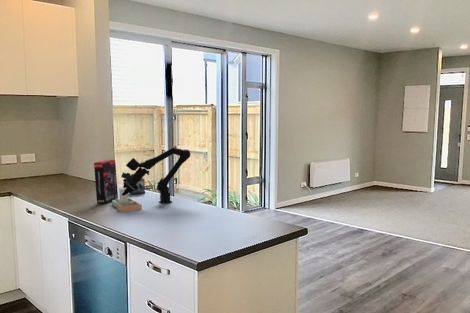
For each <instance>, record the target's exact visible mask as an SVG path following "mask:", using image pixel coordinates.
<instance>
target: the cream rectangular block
mask: <svg viewBox="0 0 470 313" xmlns="http://www.w3.org/2000/svg"><path fill="white" fill-rule="evenodd" d="M125 189H126V187H124V188H123V187H119V199H120V203H123V202H128V198H129V193H128V194H126V195H124V196H123V195H122V194H123V192H124V191H125Z"/></svg>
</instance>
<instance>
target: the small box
mask: <svg viewBox="0 0 470 313" xmlns="http://www.w3.org/2000/svg"><path fill="white" fill-rule="evenodd" d="M145 181H146V180H145V179H144V177H143V178H142V179H141V181H139V182H138V183H137V184H136V185H137V186H138V190H137V191H136V190H135V189H134V190H135V191H133V192H130V193H129V195H140V194H141V195H143V194H146V186H145V185H146V184H145V183H146V182H145Z"/></svg>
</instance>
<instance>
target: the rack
mask: <svg viewBox="0 0 470 313" xmlns="http://www.w3.org/2000/svg"><path fill="white" fill-rule="evenodd" d="M111 204H112V206H114V208H116V209H118V210H119V211H120V212H121V213H126V212H131V211H132V212H133V211H139V210H143V205H142V204H141V203H140V202H139V201H137V200H135V199H133V198H131V197H128V202H123V203H120V198H117V199H115V200H112V201H111Z"/></svg>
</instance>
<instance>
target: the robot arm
mask: <svg viewBox="0 0 470 313" xmlns="http://www.w3.org/2000/svg"><path fill="white" fill-rule="evenodd" d="M172 155H176V156H179V157H178V160H176V162H175V163H174V165H173V166H172V168H171V169H170V170H169V172H167V174H166V176H165V177H161V178H160V179H159V181H158V182H157V185H156V188H157V189H156V190H158V192H159V200H160V201H158V203H161V204H169V203H173V201H172V200H171V192H170V190H171V188H170V187H169V184H170V181H171V180H172V178H173V177H174V176H175V174H176V173H177V172H178V171H179V168H180V167H181V166H182V165H183V164H184V163H185V162H186V161H187V160H188V159H189V158H190V157H191V151H190V150H189V149H182V148H176V147H175V146H173V147H171V148H170V149H168V150H165V151H164V152H162V153H161V154H158V155H157V156H155V157H152V158H149V159H146V160H145V161H143V162H138V160H136V159H135V158H134V157H132V159H131V160H128V162H127V163H126V165H125V166H126V167H127V168H128V169H129V170H131V171H132V172H133V171H134V173H131V172H122V174H121V175H120V176H121V177H120V178H123V180H122V182H123V185H122V188H124V187H126V189H125V191H124V192H123V194H122V195H123V196H124V195H126V194H128V195H129V194H130V192H133V191H135V190H136V191H137V190H138V186H137V185H136V184H137V183H138V182H139V181H141V179H142V178H143V179H144V177H145V176H146V175H147V176H149V175H150V170H151V169H152V168H153V167H154V166H155V165H156V164H158V163H159V162H161V161H163V160H165V159H167V158H169V157H171V156H172ZM134 189H135V190H134Z"/></svg>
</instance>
